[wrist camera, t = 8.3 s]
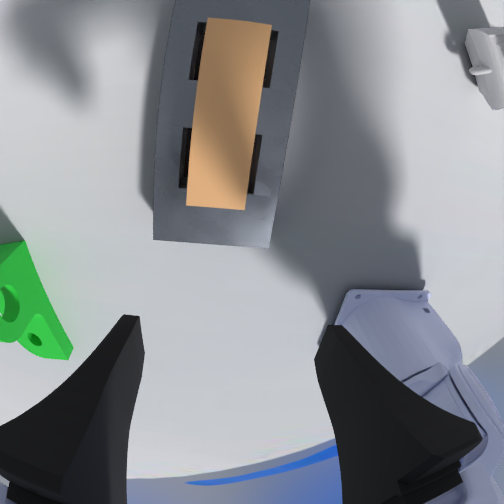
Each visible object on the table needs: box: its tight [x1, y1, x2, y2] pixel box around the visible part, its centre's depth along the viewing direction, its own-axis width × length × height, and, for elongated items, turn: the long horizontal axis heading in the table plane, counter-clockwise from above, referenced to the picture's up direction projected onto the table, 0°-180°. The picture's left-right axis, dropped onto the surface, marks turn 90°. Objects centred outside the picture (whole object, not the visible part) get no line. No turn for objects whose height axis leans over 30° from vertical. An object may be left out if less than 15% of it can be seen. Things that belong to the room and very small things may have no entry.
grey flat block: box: [153, 0, 310, 249], centre depth 15 cm, size 7×16×2 cm, turn 172°
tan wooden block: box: [186, 18, 272, 210], centre depth 14 cm, size 3×9×5 cm, turn 172°
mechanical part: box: [0, 241, 73, 360], centre depth 18 cm, size 12×6×8 cm, turn 3°
